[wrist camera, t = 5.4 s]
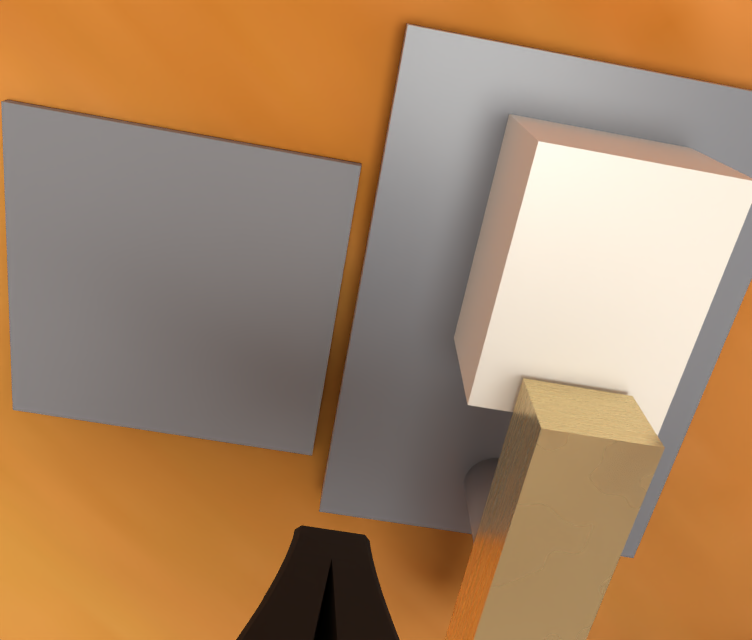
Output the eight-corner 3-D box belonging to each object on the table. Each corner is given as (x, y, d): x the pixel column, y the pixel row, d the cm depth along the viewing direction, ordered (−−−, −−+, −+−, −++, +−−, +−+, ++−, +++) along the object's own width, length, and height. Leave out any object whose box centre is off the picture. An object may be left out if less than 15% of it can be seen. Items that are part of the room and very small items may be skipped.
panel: (802, 99, 18) (931, 131, 14) (623, 535, 23) (676, 654, 19) (406, 23, 17) (414, 31, 13) (321, 490, 23) (307, 602, 19)
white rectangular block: (690, 147, 17) (760, 182, 14) (613, 364, 20) (657, 435, 17) (509, 114, 17) (538, 141, 14) (453, 338, 19) (467, 405, 16)
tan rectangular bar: (632, 395, 16) (665, 447, 14) (508, 725, 20) (521, 797, 19) (523, 377, 16) (541, 428, 14) (422, 714, 20) (426, 786, 18)
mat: (361, 163, 18) (361, 166, 18) (313, 450, 22) (311, 455, 22) (7, 99, 18) (1, 101, 18) (17, 404, 22) (12, 409, 21)
